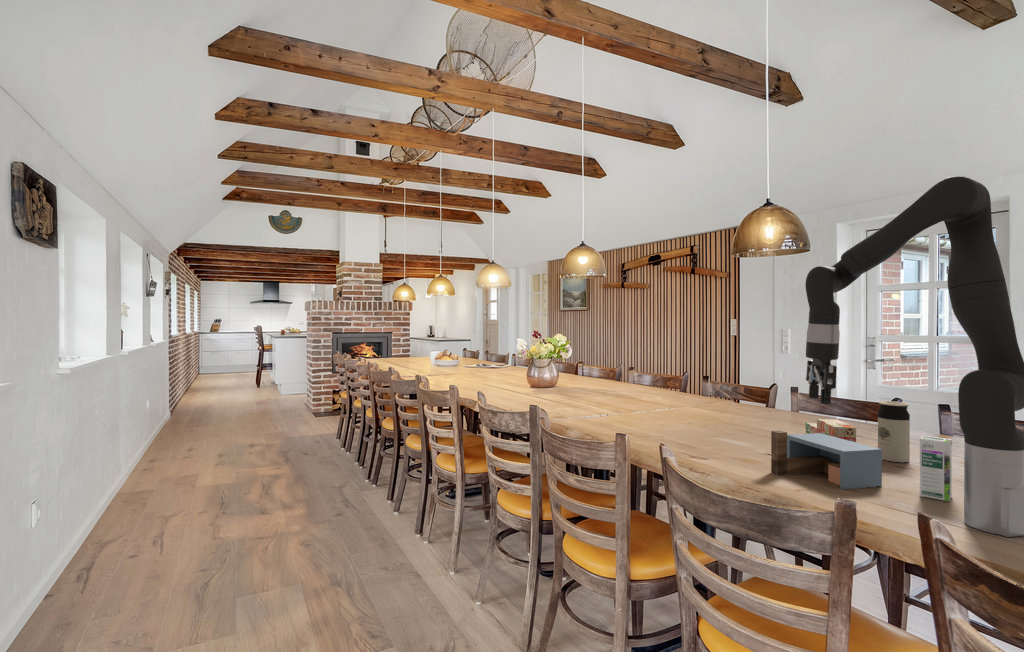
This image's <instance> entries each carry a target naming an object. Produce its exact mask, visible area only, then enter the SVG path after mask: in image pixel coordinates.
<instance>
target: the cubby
mask: <svg viewBox="0 0 1024 652" xmlns="http://www.w3.org/2000/svg"><path fill="white" fill-rule="evenodd" d="M807 456H824V457H828V458H829V460H832V461H835V462H838V463H840V485H839V489H841V490H844V491H845V490H855V489H866V488H867V487H870V488H877V487H876V486H882V487H883V460H882V449H879V448H878V447H875V446H871V445H867V444H863V443H860V442H857V441H856V442H852V441H848V440H845V439H841V438H837V437H833V436H829V435H825V434H822V433H814V434H806V433H797V434H796V433H795V434H787V458H791V457H807ZM867 489H868V488H867Z"/></svg>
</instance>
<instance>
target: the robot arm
mask: <svg viewBox="0 0 1024 652" xmlns="http://www.w3.org/2000/svg"><path fill="white" fill-rule="evenodd" d="M991 201H992V200H991V195H990V192H989V190H988V189H987V187H986V186H985V185H984V184H982V183H980V182H978V181H977V180H973V179H972V178H970V177H966V176H961V175H955V176H949V177H946V178H943V179H942V180H940V181H938V182H937V183H935V184H934V185H932V186H931V187H930V188H929V189H928V190H927V191H925V192H924V193H923V194H922V195H921V196H920V197H919V198H918V199H916V200H915V201H914V202H913V203H911V204H910V205H909V206H908V207H907V208H906V209H904V210H903V211H902V212H900V213H899V214H898V215H897V216H896V217H894V218H893V219H892V220H891V221H889V222H888V223H886V224H885V225H884V226H882V227H881V228H879V229H878V230H876V231H875V232H874V233H872V234H871V235H868V236H867V237H866V238H864V239H863V240H861V241H859V242H858V243H857V244H854V246H852V247H850V248H849V249H847V250H845V252H843V254H841V256H840V260H838V261H837V262H836V263H835V264H833V265H832V266H826V265H818V266H815V267H813V268H811V269H810V271H808V274H807V275H806V277H805V293H806V299H807V303H808V306H809V308H808V309H809V312H808V325H807V330H806V341H805V343H806V345H805V358H808V360H807V365H806V375H805V376H806V377H805V380H806V381H807V383H808V384H809V386H808V387H809V388H808V398H810V399H815V400H816V399H817V400H818V399H819V398H820V399H819V401H820V403H821V404H822V405H830V404H831V401H832V400H831V399H832V390H833V389H836V388H837V368H838V367H837V365H836V364H835V365H834V364H833V365H832V363H831V361H836V360H838V359H839V355H840V354H839V351H840V338H841V337H840V334H841V333H840V331H841V330H840V316H841V310H840V309H841V308H840V306H839V304H838V303H837V302H835V296H834V293H838V292H840V291H842V290H844V289H846V288H848V287H849V286H850V285H852V283H854V282H855V281H856V280H857V279H859V278H860V277H861V276H862V274H865V273H866V272H868V271H871V270H872V269H874V268H875V267H877V266H879V265H880V264H882V263H883V262H886V261H887V260H888V259H890V258H891V257H892V256H894V255H895V254H896V253H898V251H900V249H901V248H903V246H904V245H906V244H907V243H908V242H909V241H910V240H912V239H913V238H914V237H915V236H917V235H918V234H920V233H921V232H923V231H925V230H926V229H928V228H930V227H933V226H935V225H936V224H938V223H939V224H940V223H941V222H944V224H945V227H946V231H947V234H948V238H949V239H948V240H949V242H950V256H949V263H948V269H947V290H948V296H949V300H950V305H951V308H952V311H953V314H954V316H955V318H956V320H957V321H958V323H959V325H960V326H961V328H962V329H963V331H964V333H966V335H967V337H968V338H969V339H970V341H971V344H972V345H973V348H974V351H975V355H976V362H977V368H978V369H977V370H976V369H975V370H972V371H970V372H968V373H967V374H965V375H964V376H963V377H962V379H961V380H960V383H959V386H958V393H957V396H958V399H957V400H958V419H959V426H960V429H961V431H962V433H963V436H964V441H963V442H964V457H963V458H964V459H963V461H964V463H963V469H964V471H963V473H964V474H963V476H964V478H963V479H964V480H963V482H964V483H963V485H964V486H963V488H964V489H963V491H964V492H963V504H964V505H963V522H964V523H965V524H966V525H967V526H969V527H971V528H974V529H975V530H978V531H981V532H982V531H983V532H985V533H990V534H994V535H998V536H1004V537H1005V538H1013V537H1022V536H1023V537H1024V434H1023V433H1021V432H1020V431H1019V430H1018V429H1017V425H1016V414H1015V413H1016V412H1018V411H1021V410H1023V409H1024V358H1023V356H1022V353H1021V350H1020V347H1019V343H1018V338H1017V333H1016V326H1015V320H1014V318H1013V312H1012V310H1011V309H1012V307H1011V303H1010V296H1009V291H1008V286H1007V282H1006V278H1005V275H1004V271H1003V267H1002V262H1001V259H1000V255H999V252H998V248H997V246H996V243H995V238H994V233H993V218H992V203H991ZM819 392H820V397H819Z"/></svg>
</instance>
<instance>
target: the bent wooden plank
mask: <svg viewBox="0 0 1024 652" xmlns="http://www.w3.org/2000/svg"><path fill="white" fill-rule="evenodd" d="M787 435H788V432H787V431H784V430H771V433H770V436H771V437H770V438H771V442H770V443H771V444H770V447H771V449H770V451H771V452H770V455H771V456H770V457H771V459H770V468H771V469H770V473H771V472H772V473H771V474H773V473H774V475H776V474H777V475H776V476H785V475H784V474H789V475H799V473H804V474H814V472H818V473H825V472H826V473H825V474H828V465H832V464H840V463H838V462H835V461H832V460H829V458H828V457H824V456H807V457H791V458H787Z"/></svg>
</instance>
